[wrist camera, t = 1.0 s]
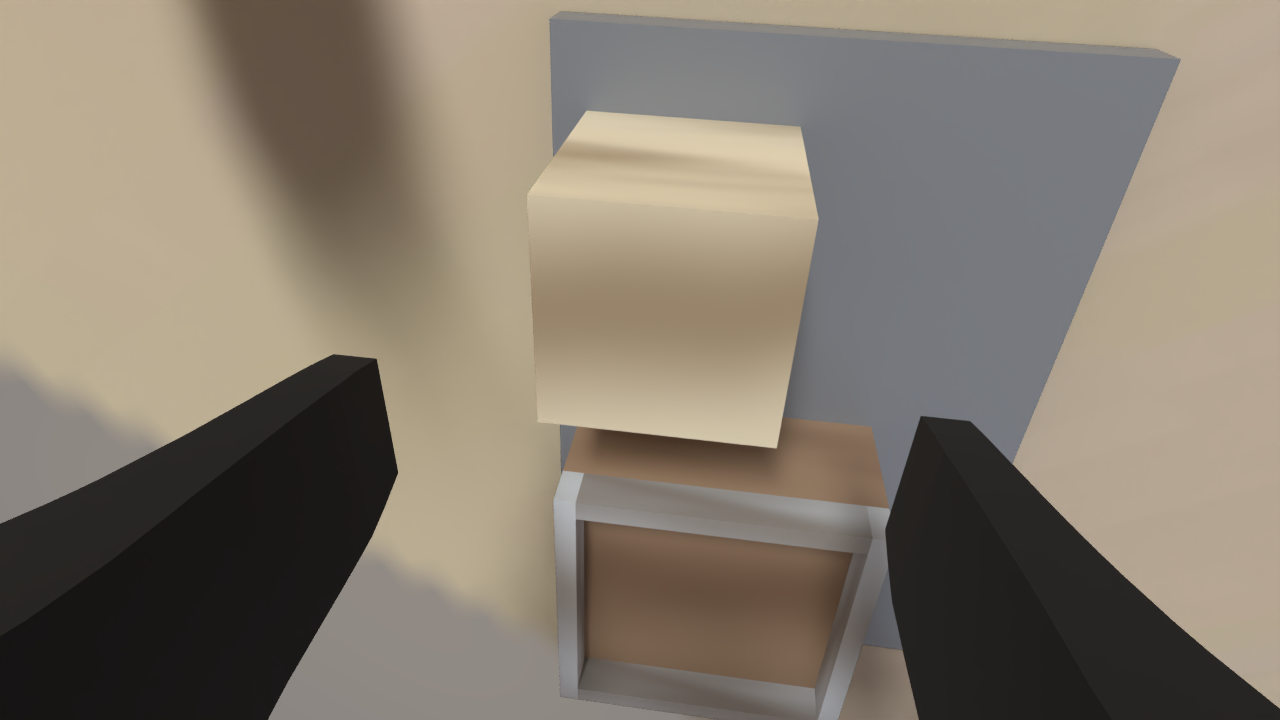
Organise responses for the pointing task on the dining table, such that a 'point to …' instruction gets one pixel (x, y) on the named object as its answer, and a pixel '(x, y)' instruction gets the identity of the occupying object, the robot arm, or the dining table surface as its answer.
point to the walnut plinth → (718, 570)
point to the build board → (905, 200)
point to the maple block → (670, 276)
